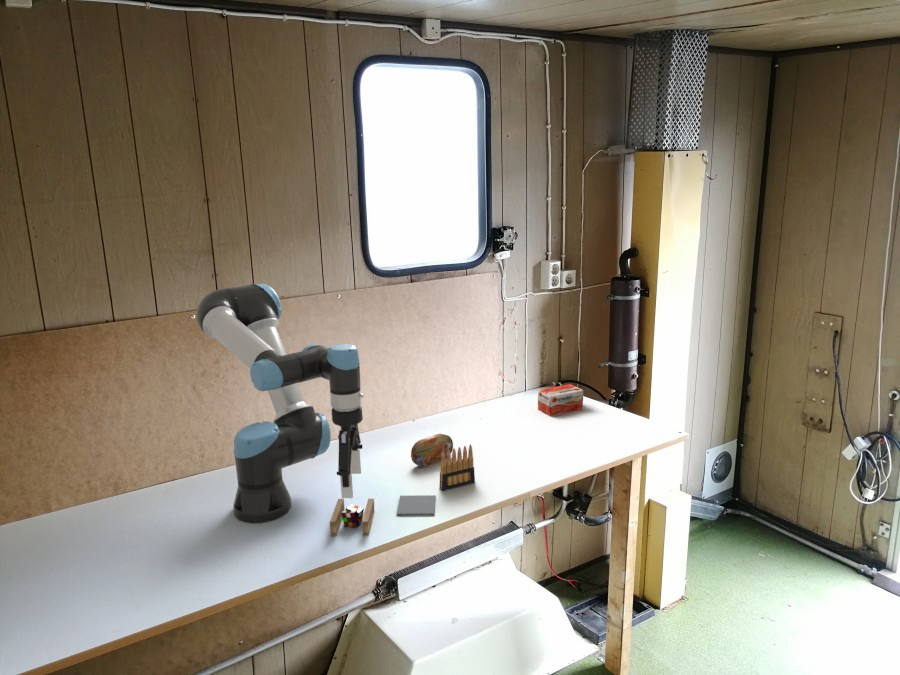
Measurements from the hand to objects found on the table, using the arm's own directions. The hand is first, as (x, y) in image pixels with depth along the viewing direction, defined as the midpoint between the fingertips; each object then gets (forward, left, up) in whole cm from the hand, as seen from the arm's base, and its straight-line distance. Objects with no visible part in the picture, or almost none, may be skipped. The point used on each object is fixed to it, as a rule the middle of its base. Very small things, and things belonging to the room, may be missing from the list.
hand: (351, 484), depth 176 cm
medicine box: (+65, +82, -12) cm, 105 cm away
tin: (+19, +37, -12) cm, 43 cm away
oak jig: (0, 0, -11) cm, 11 cm away
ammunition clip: (+27, +21, -12) cm, 36 cm away
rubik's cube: (0, 0, -12) cm, 12 cm away
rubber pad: (+16, +9, -11) cm, 21 cm away
